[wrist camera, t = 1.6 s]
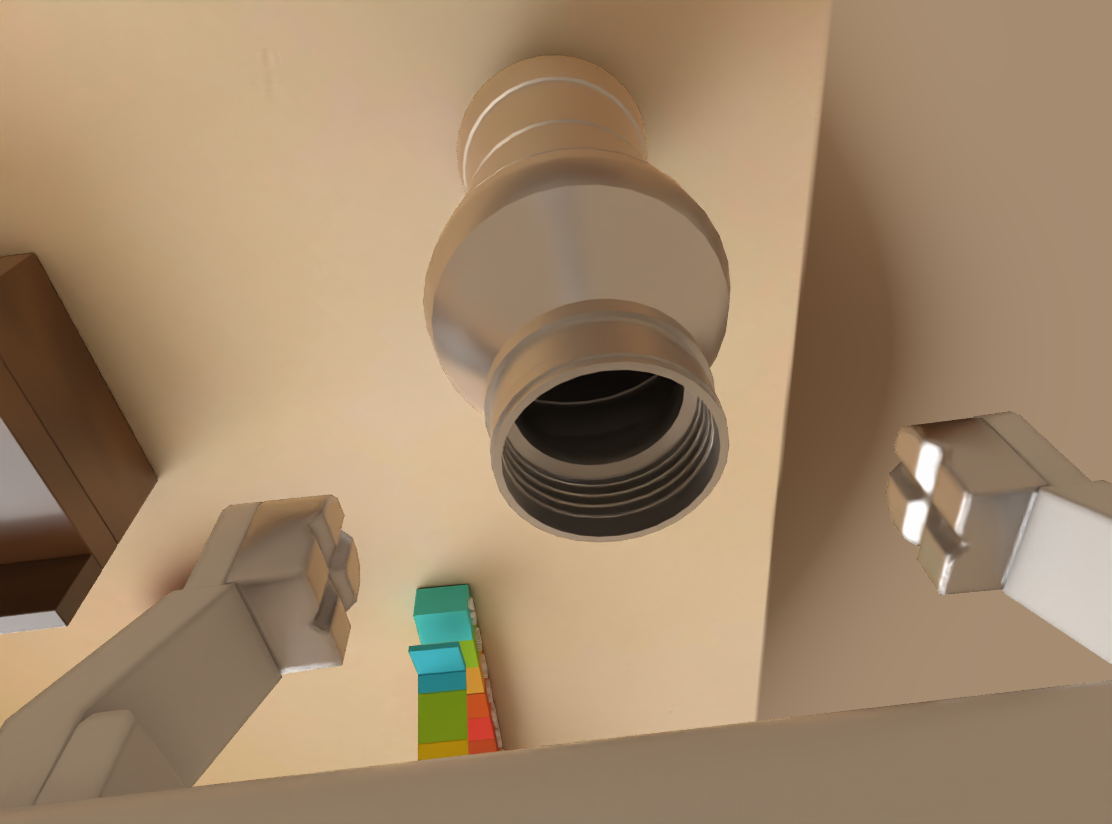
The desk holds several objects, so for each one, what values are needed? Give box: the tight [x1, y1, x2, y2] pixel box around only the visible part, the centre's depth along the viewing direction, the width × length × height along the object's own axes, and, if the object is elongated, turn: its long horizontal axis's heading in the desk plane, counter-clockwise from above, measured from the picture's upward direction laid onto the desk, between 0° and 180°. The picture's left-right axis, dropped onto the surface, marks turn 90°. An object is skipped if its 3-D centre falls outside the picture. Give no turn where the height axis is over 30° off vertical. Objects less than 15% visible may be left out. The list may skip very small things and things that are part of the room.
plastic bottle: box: [423, 55, 730, 542], centre depth 19 cm, size 6×7×20 cm
